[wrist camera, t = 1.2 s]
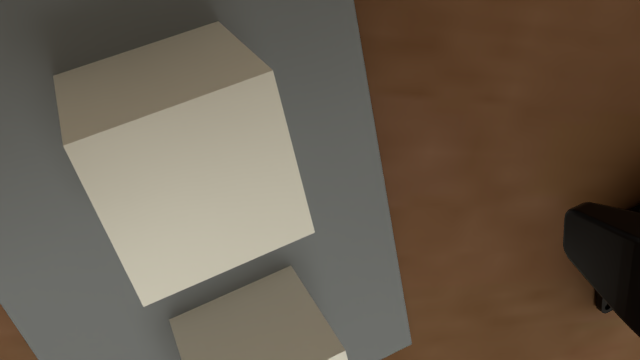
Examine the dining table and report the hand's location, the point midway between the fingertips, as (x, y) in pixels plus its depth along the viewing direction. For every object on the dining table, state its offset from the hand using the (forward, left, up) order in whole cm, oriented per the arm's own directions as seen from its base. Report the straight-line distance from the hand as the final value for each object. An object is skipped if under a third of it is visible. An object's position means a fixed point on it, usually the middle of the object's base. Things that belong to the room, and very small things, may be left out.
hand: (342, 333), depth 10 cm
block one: (-11, +1, -12) cm, 16 cm away
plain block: (-1, +1, -12) cm, 12 cm away
